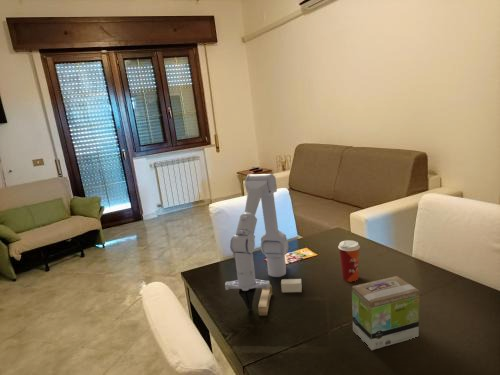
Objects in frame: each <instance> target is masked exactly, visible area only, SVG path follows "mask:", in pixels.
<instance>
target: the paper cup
mask: <svg viewBox="0 0 500 375" xmlns="http://www.w3.org/2000/svg"><path fill="white" fill-rule="evenodd" d="M337 247H338V249H339V256H340V267H341V273H342V274H341V275H342V279H343V281H345V282H347V281H348V283H353V282H352V281H355V282H357V281H358V280H359V267H360V266H359V264H360V263H359V262H360V248H361V246H360V244H359V242H358V241H356V240H342V241H340V242H339V244H338V246H337ZM356 280H357V281H356Z"/></svg>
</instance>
